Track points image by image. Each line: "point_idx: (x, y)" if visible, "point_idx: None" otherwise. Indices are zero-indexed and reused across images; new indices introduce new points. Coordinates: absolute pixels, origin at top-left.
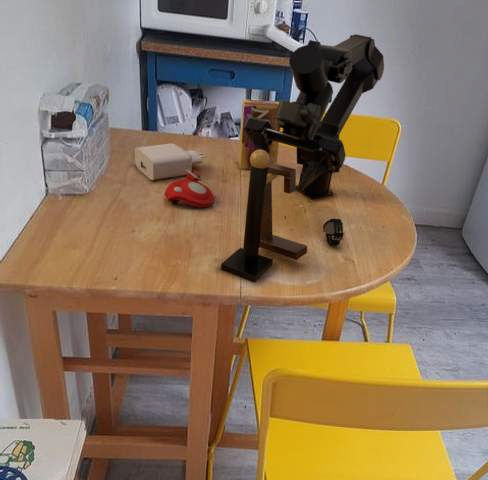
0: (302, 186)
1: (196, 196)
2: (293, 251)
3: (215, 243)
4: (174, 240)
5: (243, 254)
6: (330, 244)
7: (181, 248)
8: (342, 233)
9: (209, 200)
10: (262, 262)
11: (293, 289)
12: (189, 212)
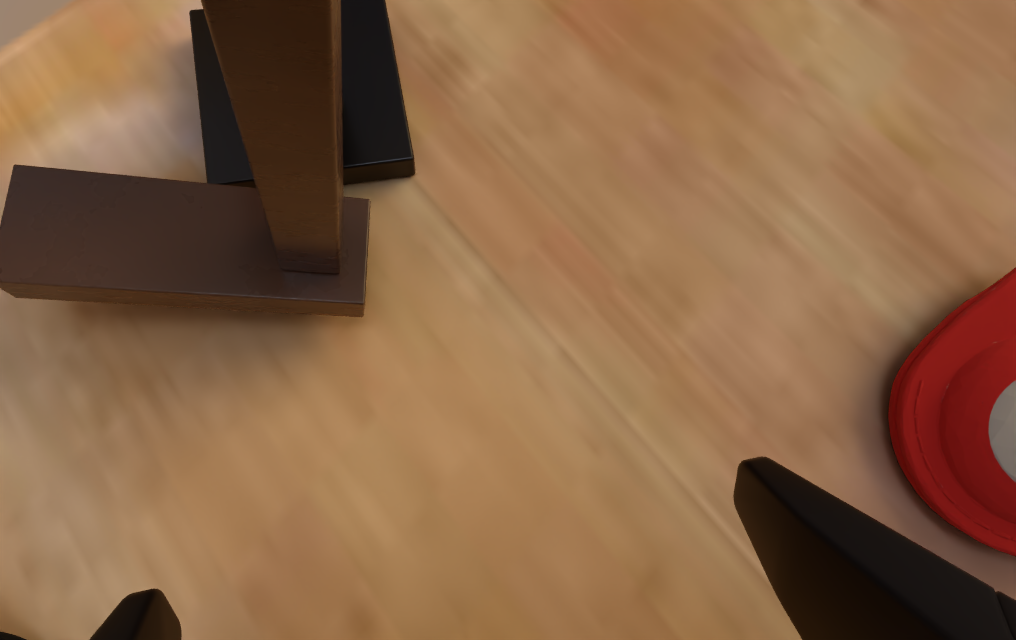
0: (100, 631)
1: (975, 369)
2: (40, 168)
3: (563, 165)
4: (703, 59)
5: None
6: (14, 635)
7: (631, 32)
8: None
9: (924, 454)
10: (234, 123)
11: (19, 108)
12: (887, 305)
